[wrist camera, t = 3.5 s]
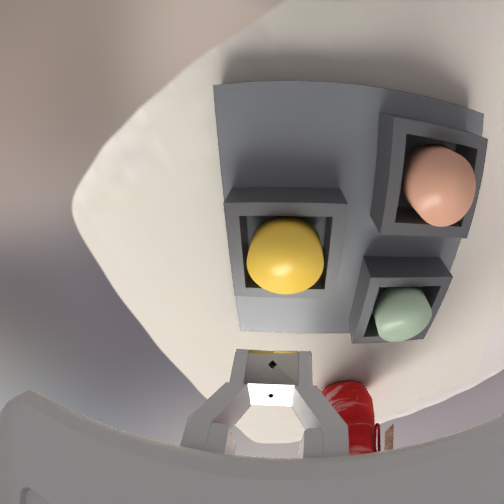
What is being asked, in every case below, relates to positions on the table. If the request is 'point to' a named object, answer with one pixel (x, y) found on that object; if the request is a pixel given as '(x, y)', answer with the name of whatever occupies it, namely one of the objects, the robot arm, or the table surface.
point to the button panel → (338, 195)
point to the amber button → (285, 255)
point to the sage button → (401, 313)
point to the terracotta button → (438, 184)
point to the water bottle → (357, 416)
